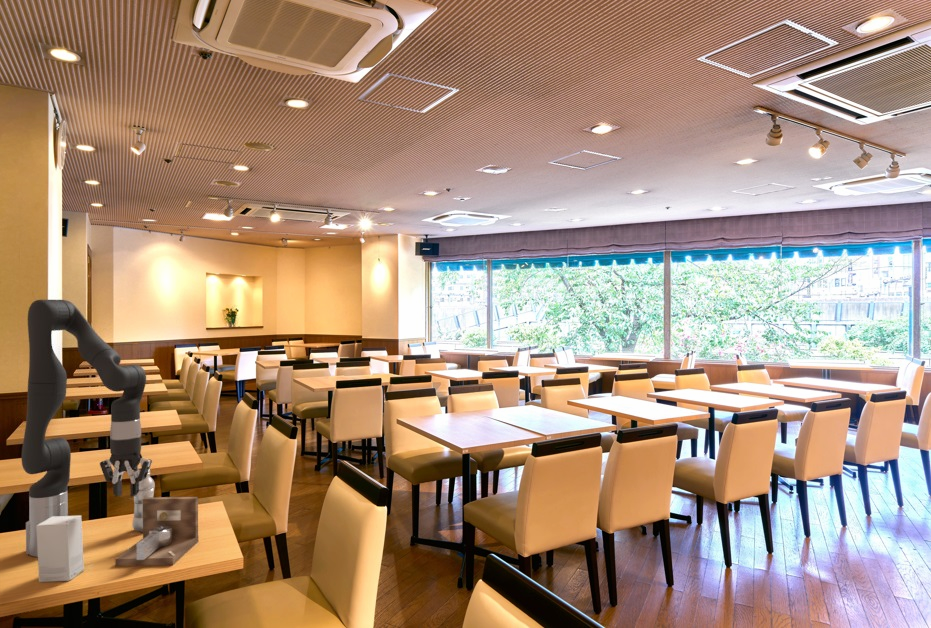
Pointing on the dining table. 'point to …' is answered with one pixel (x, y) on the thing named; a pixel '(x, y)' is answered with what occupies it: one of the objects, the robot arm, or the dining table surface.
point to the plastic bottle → (144, 492)
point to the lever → (154, 541)
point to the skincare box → (60, 548)
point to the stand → (168, 513)
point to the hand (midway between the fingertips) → (126, 495)
